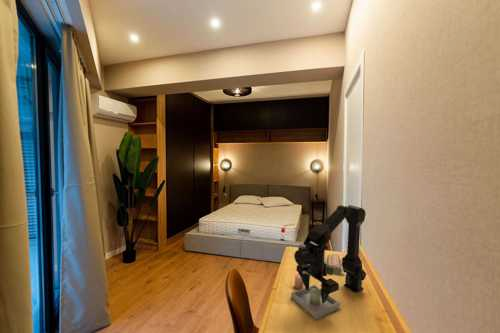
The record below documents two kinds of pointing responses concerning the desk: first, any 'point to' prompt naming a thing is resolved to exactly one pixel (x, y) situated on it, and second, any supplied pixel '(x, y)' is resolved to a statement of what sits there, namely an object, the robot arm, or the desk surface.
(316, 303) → the sage part
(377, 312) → the desk surface
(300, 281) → the terracotta part
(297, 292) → the tray
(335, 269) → the packaged product
